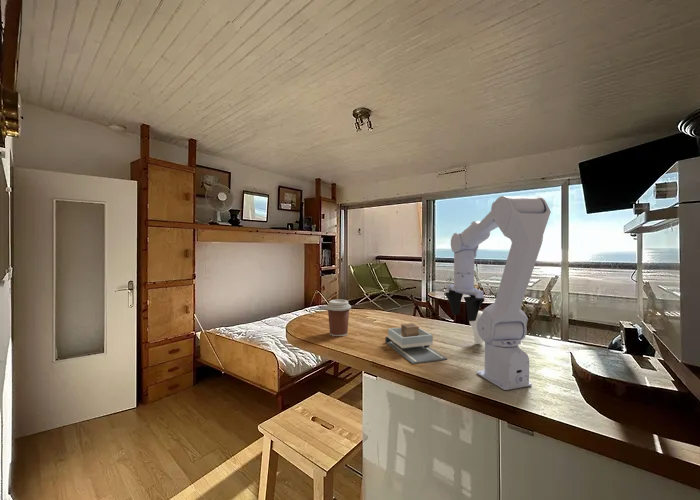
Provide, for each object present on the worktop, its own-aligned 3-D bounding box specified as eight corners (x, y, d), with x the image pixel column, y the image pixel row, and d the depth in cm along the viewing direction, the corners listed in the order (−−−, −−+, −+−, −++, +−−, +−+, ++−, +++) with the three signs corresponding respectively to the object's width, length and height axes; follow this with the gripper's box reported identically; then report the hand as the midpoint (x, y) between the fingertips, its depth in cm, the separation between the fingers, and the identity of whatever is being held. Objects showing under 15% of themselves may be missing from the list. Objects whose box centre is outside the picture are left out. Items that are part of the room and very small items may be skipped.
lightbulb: (491, 348, 95) (491, 313, 94) (470, 346, 96) (470, 312, 96) (486, 341, 101) (486, 309, 100) (467, 340, 102) (467, 308, 102)
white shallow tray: (432, 348, 92) (432, 335, 92) (402, 352, 89) (402, 338, 89) (415, 338, 102) (415, 326, 102) (388, 341, 99) (388, 328, 99)
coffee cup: (322, 336, 106) (322, 302, 106) (331, 329, 115) (331, 298, 115) (346, 339, 104) (346, 304, 103) (354, 331, 113) (354, 299, 112)
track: (447, 359, 86) (447, 352, 86) (412, 364, 82) (412, 357, 82) (414, 339, 103) (414, 333, 103) (385, 342, 100) (385, 336, 100)
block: (418, 339, 94) (418, 326, 94) (407, 340, 93) (407, 327, 93) (412, 335, 98) (412, 323, 98) (401, 336, 97) (401, 324, 97)
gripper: (438, 271, 97) (438, 313, 97) (468, 276, 83) (468, 324, 84) (457, 270, 99) (457, 311, 99) (489, 275, 85) (489, 322, 86)
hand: (463, 317), depth 92 cm, fingers open, 7 cm apart
